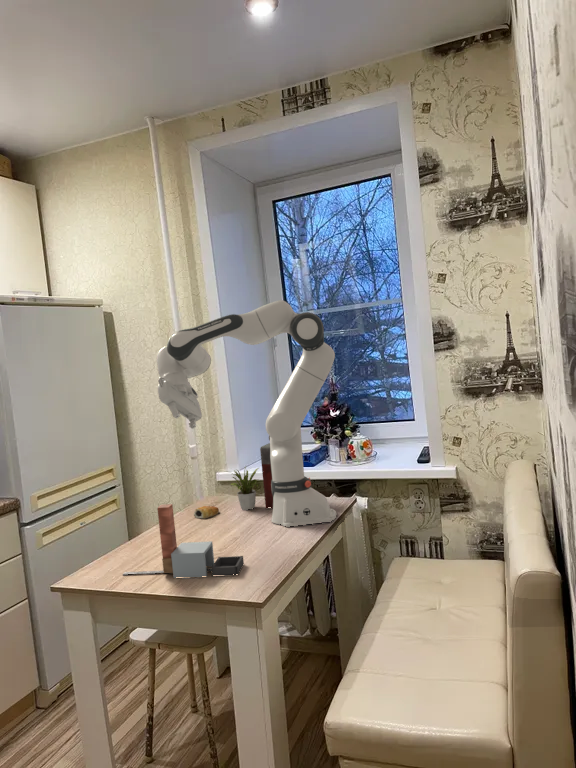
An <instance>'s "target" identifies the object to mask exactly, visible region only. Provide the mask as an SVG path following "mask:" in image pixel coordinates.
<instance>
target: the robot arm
mask: <svg viewBox="0 0 576 768" xmlns="http://www.w3.org/2000/svg"><path fill="white" fill-rule="evenodd" d="M324 329H325V328H324V323H323V321H322V319H321V318H320V317H319V316H318V315H316V314H315V313H313V312H307V311H306V312H302V313H299V312H298V313H297V312H295V311H294V309H293V308H292V306H291V305H290V304H289V303H288V302H287V301H285V300H282V299H281V300H275V301H272V302H270V303H269V302H268V303H267V304H264V305H261V306H259V307H257V308H255V309H253V310H250V311H249V312H245V313H240V314H235V313H233V314H227V315H225V316H221V317H219V318H216V319H214V320H211V321H208V322H205V323H202V324H200V325H197V326H194V327H191V328H189V327H188V328H184V329H180V330H177V331H175V332H174V333H173V334H171V336H170V337H169V339H168V341H167V344H166V346H163V347H162V348H161V349H160V350H159V351H158V352H157V355H156V366H157V372H158V376H159V377H158V379H157V380H158V385H157V394H158V399H159V400H160V402H161V403H163V404H164V405H166V406H167V407H168V409H169V410H170V412H171V414H172V415H171V416H172V417H173V418H175V419H178V418H179V417H181V416H182V417H183V418H185V419H187V420H188V421H189V422H188V427H189V428H190V429H195V428H196V427H197V424H196V423H197V422H198V421H199V420H202V417H203V414H202V410H201V406H200V403H199V399H198V398H199V395H198V392H197V391H196V390H195V389H194V387H193V386H192V385H191V383H190V381H189V380H188V379H191V378H195V377H197V376H201V375H202V374H204V373H206V371H208V370H209V368H210V366H211V361H212V360H211V359H212V357H211V356H210V354H209V352H208V351H207V350H206V349H205V347H203V345H204V344H206V343H208V342H209V343H210V342H212V341H215V340H217V339H219V338H223V337H230V338H233V339H237V340H238V341H240V342H242V343H244V344H247V345H251V346H255V345H260V344H262V343H265V342H266V341H269V340H270V339H272V338H274V337H277V336H278V335H281V334H289V335H290V336H291V337H292V339H293V340H294V341H295V342H296V343H297V344H299V346H300V347H301V348H302V354H301V356H300V358H299V360H298V362H297V363H296V365H295V367H294V369H293V371H292V372H291V374H290V377H289V378H288V379H287V381H286V384H285V385H284V387H283V389H282V391H281V392H280V394H279V396H278V398H277V400H276V402H275V403H274V404H273V407H272V408H271V410H270V412H269V414H268V416H267V417H266V420H265V430H266V433H267V435H268V437H269V436H270V440H269V443H270V460H271V470H272V480H271V488H272V495H273V509H272V513H271V514H272V516H271V520H270V521H271V523H273V524H276V525H280V524H281V526H283V527H285V526H286V527H285V528H291V527H290V526H294V527H299V526H298V525H303V526H306V525H305V524H312V525H314V524H313V523H320V522H330V521H332V520H334V519H335V518H336V519H337V517H336V515H337V511H336V510H335V509H333V508H331V507H330V503H329V500H328V499H327V497H326V496H325V495H324V494H323V493H320V492H319V491H318V490H316V489H314V488H313V487H312V481H311V477H308V476H305V470H304V457H303V443H302V429H301V428H302V427H301V426H302V424H303V422H304V420H305V418H306V416H307V415H308V413H309V411H310V409H311V408H312V406H313V404H314V401H315V400H316V398H317V396H318V395H319V393H320V391H321V388H322V387H323V385H324V384H325V381H326V379H327V378H328V377H329V374H330V371H331V369H332V367H333V364H334V361H335V357H336V354H335V350H333V348H332V347H331V346H330V345H329V344H327V343H326V342H325V338H324V337H325V334H324V333H325V330H324ZM337 516H338V515H337ZM336 519H335V520H336ZM335 520H334V521H335ZM332 522H333V521H332ZM330 523H331V522H330Z"/></svg>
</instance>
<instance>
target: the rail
mask: <svg viewBox="0 0 576 768" xmlns="http://www.w3.org/2000/svg"><path fill="white" fill-rule="evenodd" d="M206 569H207V571H212V570H211V568H206ZM155 573H164V571H163V570H147V571H145V570H143V571H124V572H123V573H122V576H129V575H128V574H148V575H156V574H155Z"/></svg>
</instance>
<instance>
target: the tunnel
mask: <svg viewBox="0 0 576 768" xmlns="http://www.w3.org/2000/svg"><path fill="white" fill-rule="evenodd" d="M213 544H214V543H213V541H212V540H211V541H210V540H209V541H194V542H193V541H192V542H181V543H180V544H179V545H177V548H176V549H175V550H174V552H173V553H172V554H171V557H172V567H173V575H172V576H173V579H174V578H176V577H202V576H207V577H208V572H207V569H208V568H207V567H206V566H209V567H212V566H213V565H214V563H215V556H214V555H215V554H214V545H213Z"/></svg>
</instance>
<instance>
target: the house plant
mask: <svg viewBox="0 0 576 768" xmlns="http://www.w3.org/2000/svg"><path fill="white" fill-rule="evenodd" d="M250 469H252V468H249V469H247V466H245V467H244V472H243V478H242V475H241V473H240V471H239V470H238V469H236V468H235V469H234V470H233V472H234V474H233V473H232V472H231V471H227V470H226V471H224V473H225V472H227V473H231V474H230V475H233V476H232V478H233V479H234V480H235V481H236V482H237V483H236V482H232V483H230V485H233V486H232V487H237V490H238V492H237V493H236V495H237V498H238V501H239V506H240V509H242V511H249V510H248V509H252V508H254V507H255V508H256V497H257V496H256V495H257V491H256V490H255V489H254V487H255V486H256V487H259V484H258V483H257V482H258V480H260V478H258V479H256V478H255V479H253V478H254V476H255V474H256V473H257V472H258V470H259V469H260V467H257V468H256V469H255V470H253V472H252V473H251V475H250V477H249V471H250ZM239 490H240V491H239ZM255 508H254V509H255ZM252 510H253V509H252Z"/></svg>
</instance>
